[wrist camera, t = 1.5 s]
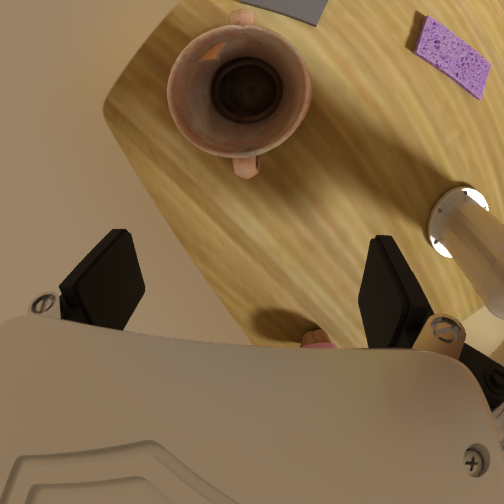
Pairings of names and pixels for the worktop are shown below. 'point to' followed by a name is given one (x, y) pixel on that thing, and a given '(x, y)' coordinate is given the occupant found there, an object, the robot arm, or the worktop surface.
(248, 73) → the ceramic jug
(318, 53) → the worktop surface
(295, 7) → the mat
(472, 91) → the sponges
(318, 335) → the cupcake
